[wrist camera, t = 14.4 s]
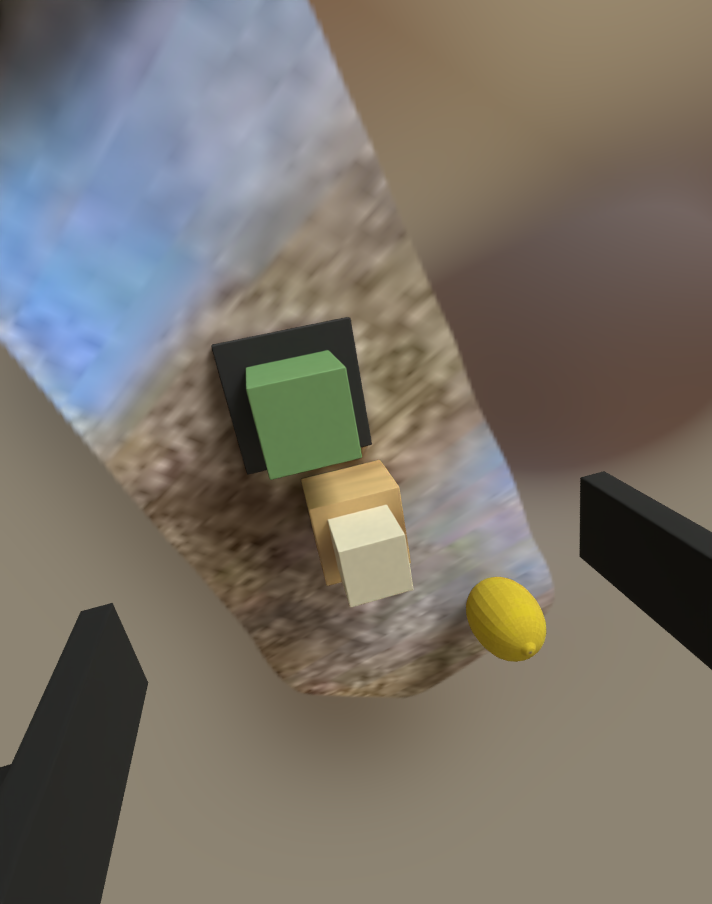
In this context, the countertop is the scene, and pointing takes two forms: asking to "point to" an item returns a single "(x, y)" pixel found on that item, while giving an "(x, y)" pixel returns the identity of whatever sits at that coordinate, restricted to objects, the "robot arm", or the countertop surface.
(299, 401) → the green block
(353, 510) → the maple block
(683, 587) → the robot arm
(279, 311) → the countertop surface
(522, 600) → the lemon
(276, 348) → the coaster
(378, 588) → the cream block
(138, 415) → the countertop surface
